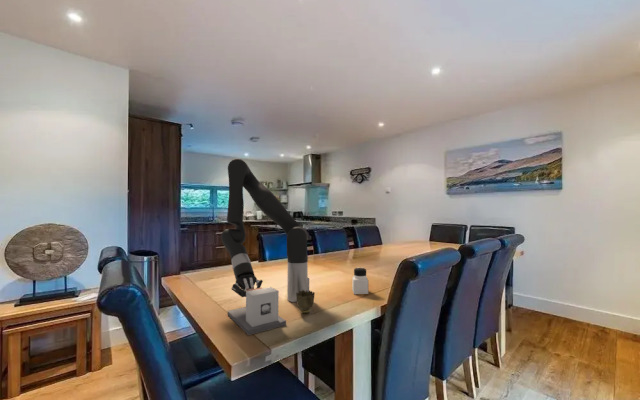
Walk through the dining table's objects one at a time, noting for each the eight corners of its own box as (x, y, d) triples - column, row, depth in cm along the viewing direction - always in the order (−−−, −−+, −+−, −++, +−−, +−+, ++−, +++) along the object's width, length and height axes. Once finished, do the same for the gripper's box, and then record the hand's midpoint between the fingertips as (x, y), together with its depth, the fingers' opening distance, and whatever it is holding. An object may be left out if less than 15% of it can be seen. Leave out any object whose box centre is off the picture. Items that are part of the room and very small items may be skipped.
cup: (307, 317, 106) (307, 296, 107) (292, 313, 110) (292, 293, 110) (318, 311, 113) (318, 291, 113) (303, 308, 116) (303, 288, 117)
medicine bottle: (368, 294, 135) (368, 269, 135) (353, 294, 135) (353, 269, 136) (366, 290, 142) (366, 266, 143) (352, 290, 142) (352, 266, 143)
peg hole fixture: (260, 307, 117) (261, 278, 118) (286, 325, 100) (286, 291, 100) (227, 314, 109) (227, 283, 110) (248, 335, 91) (248, 298, 92)
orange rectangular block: (261, 311, 108) (261, 287, 108) (274, 320, 98) (274, 295, 99) (246, 314, 104) (246, 290, 104) (258, 324, 95) (258, 298, 95)
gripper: (228, 263, 111) (238, 303, 100) (259, 260, 118) (272, 296, 108) (224, 274, 115) (233, 313, 105) (254, 270, 123) (266, 306, 112)
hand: (253, 304), depth 106 cm, fingers closed
